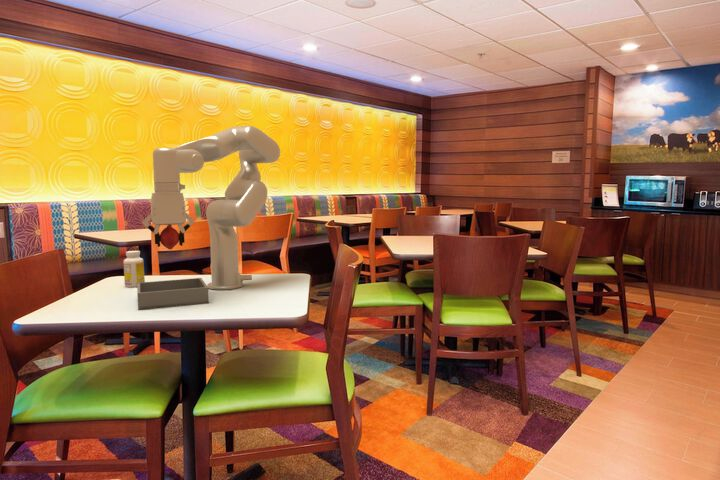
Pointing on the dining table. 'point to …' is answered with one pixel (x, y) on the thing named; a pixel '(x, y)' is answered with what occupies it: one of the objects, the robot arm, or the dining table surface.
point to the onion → (169, 237)
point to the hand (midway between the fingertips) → (169, 245)
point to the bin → (172, 293)
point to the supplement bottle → (133, 269)
